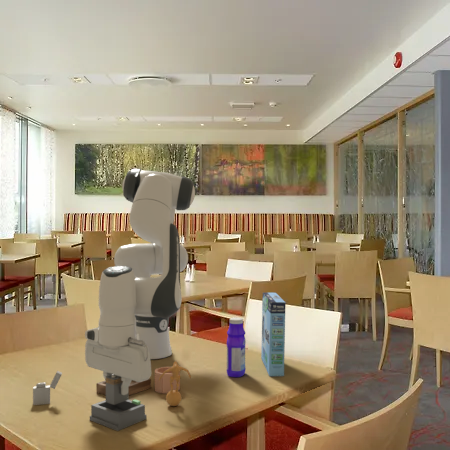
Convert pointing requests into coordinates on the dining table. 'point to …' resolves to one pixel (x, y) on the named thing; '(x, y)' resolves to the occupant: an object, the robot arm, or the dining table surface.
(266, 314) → the gum box
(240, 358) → the bottle
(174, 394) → the figurine
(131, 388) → the brown wooden tray
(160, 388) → the pink octagonal pot
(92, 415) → the tray
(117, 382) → the battery
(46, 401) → the lighter
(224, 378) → the dining table surface
